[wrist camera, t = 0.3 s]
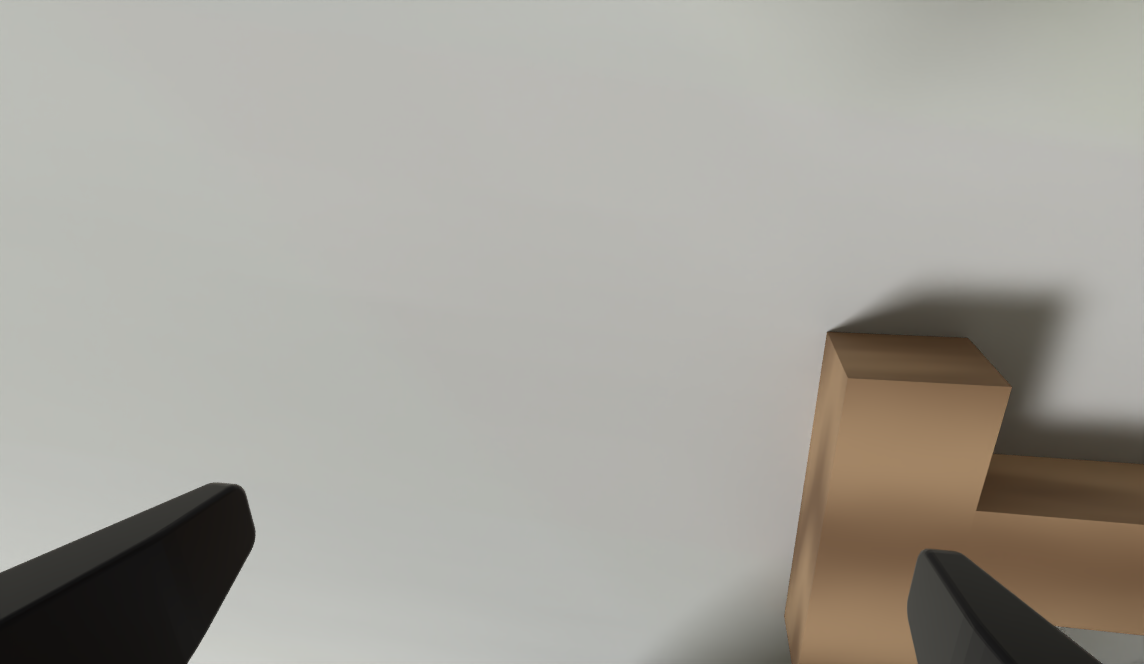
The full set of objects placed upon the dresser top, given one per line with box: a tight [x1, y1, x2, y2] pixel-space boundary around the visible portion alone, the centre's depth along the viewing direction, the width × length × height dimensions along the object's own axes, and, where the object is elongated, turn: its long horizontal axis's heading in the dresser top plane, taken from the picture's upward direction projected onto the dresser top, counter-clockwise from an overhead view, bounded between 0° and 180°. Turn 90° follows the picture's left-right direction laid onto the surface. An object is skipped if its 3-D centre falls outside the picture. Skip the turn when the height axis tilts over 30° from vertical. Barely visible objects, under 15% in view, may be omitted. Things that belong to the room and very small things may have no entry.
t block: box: [784, 332, 1144, 664], centre depth 20 cm, size 12×12×3 cm
